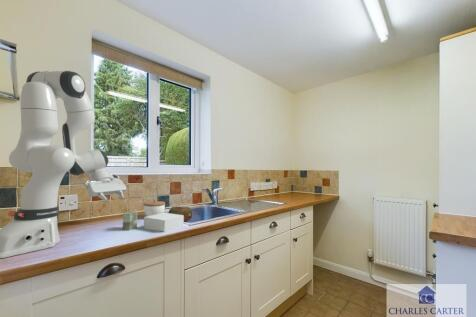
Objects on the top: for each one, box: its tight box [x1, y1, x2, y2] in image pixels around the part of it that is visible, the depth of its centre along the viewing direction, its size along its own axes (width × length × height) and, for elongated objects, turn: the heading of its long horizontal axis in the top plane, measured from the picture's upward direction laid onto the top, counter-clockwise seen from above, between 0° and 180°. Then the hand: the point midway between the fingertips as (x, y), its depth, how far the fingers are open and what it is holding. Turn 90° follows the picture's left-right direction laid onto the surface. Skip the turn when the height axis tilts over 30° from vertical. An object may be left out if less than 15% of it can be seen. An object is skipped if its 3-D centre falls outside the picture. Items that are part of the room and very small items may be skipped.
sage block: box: [122, 211, 138, 231], centre depth 114 cm, size 5×5×8 cm
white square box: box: [143, 212, 185, 233], centre depth 118 cm, size 14×14×6 cm
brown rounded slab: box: [168, 205, 194, 223], centre depth 134 cm, size 15×3×8 cm, turn 76°
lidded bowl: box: [143, 198, 166, 217], centre depth 141 cm, size 13×13×11 cm
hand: (114, 199), depth 119 cm, fingers open, 8 cm apart
